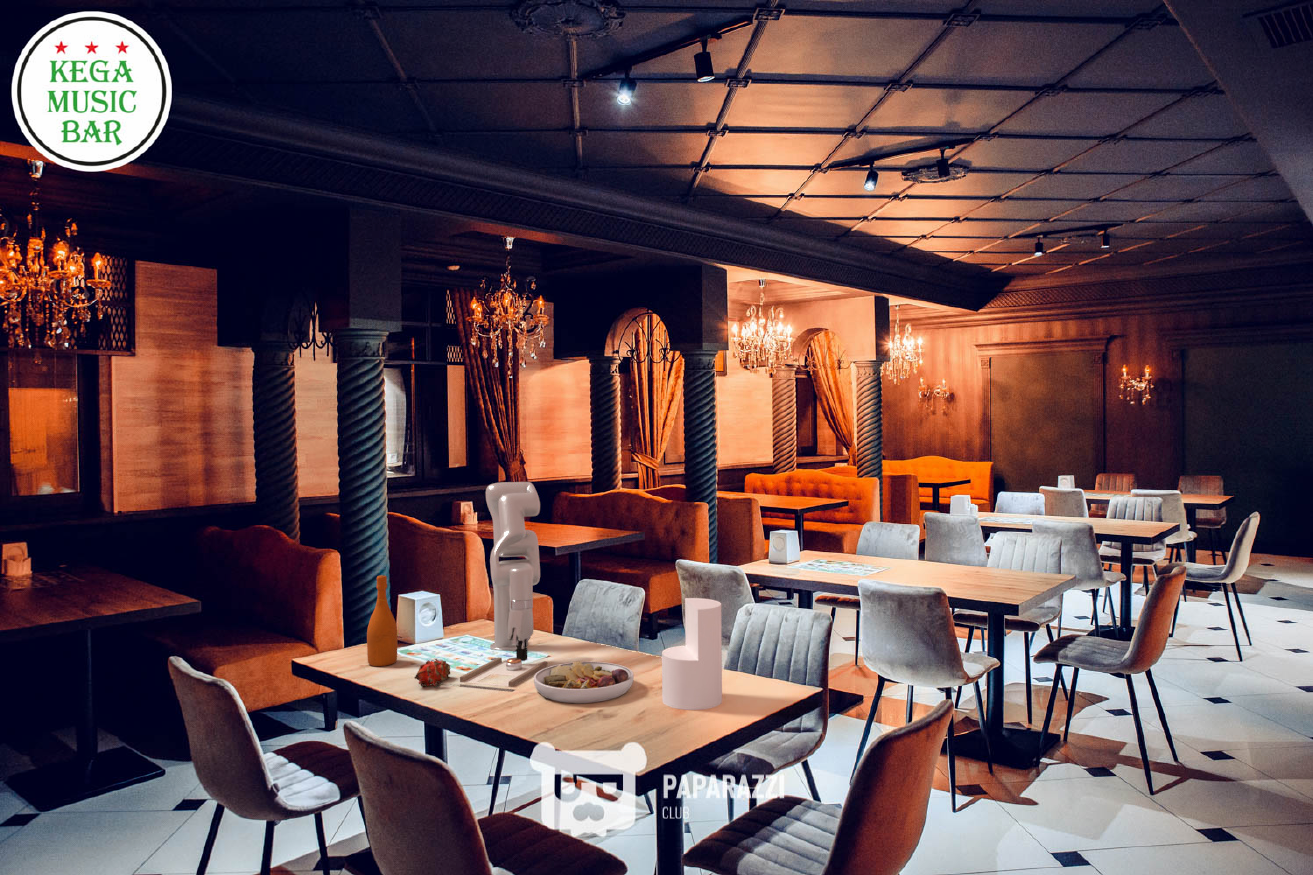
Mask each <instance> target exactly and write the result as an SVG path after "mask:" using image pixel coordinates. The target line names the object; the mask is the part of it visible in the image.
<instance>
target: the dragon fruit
mask: <svg viewBox="0 0 1313 875" xmlns="http://www.w3.org/2000/svg"><path fill="white" fill-rule="evenodd" d="M450 675H451V664H449V663H447V661H446V660H443V659H442V660H441V661H440V660H439V659H437V658H434V660H433V661H432V660H427V661H425V663H423V664H421V665H420V667H419V670H418V671H417V673H416V674H415V676H414V680H418V685H420V686H421V687H429V686H432V685H433V687H434V688H436V687H437V686H439V685H442V684H443V682H444V681H445V680H448V679H449V678H450ZM442 681H443V682H442Z"/></svg>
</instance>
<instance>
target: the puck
mask: <svg viewBox="0 0 1313 875" xmlns="http://www.w3.org/2000/svg"><path fill="white" fill-rule="evenodd" d="M505 663H506V670H508V671H517V670H521V669H522V664H523V661H521V659H520V658H516V657H510V658H507V660H506V662H505Z"/></svg>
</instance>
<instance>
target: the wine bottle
mask: <svg viewBox="0 0 1313 875" xmlns="http://www.w3.org/2000/svg"><path fill="white" fill-rule="evenodd" d="M387 581H388V577H387V576H386V575H384V574H381V575H378V576H377V577H376V585H375V586H376V589H377V598H376V603H375V607H374V609H373V612H372V614H371V616H370V619H369V621H368V622H369V623H368V626H367V631H366V652H367V653H366V654H367V663H368V665H370V666H372V667H373V666H374V667H386V666H391V665H392V664H395V663H396V662H397V660H398V626H397V623H396V620H395V618H394V615H393V613H392V611H391V608H390V606H389V603H388V598H387V588H388V582H387Z"/></svg>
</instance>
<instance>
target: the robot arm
mask: <svg viewBox="0 0 1313 875" xmlns="http://www.w3.org/2000/svg"><path fill="white" fill-rule="evenodd" d="M485 501H486V504H487V508H488V511H489V512H490V515H491V518H492V526H493V527H492V529H493V547H492V549H491V551H490V559H489V563H490V576H491V581H492V587H493V589H492V590H493V621H494V622H493V623H494V625H493V626H494V628H493V629H494V630H493V631H494V632H493V633H494V643H493V642H492V643H491V644H490V646H489V647H490V650H492V651H504V652H516V656H515V658H520V659H521V661H522V662H525V661H528V647H529V641H530V639H531V637H532V636H533V634H534V612H533V608H534V604H533V603H534V602H533V601H534V595H533V594H534V593H533V586H535V585H538V583H539V582H540V578H541V566H540V565H541V564H540V550H539V540H538V536H537V533H536V532H535V531H534V530H530V529H526V525H525V517H536V516H538V515H539V514H540V511H541V501H540V497H539V495H538V492H537V490H536V488H535V486H534V484H533V483H532V482H530V481H515V482H513V481H512V482H511V481H508V482H506V481H505V482H495V483H491V484H489V485H488V486H487V487H486V488H485ZM500 557H501V558H510V557H511V558H512V557H513V558H514V557H524V558H525V559H511V560H510V559H509V560H501V561H499V560H500Z"/></svg>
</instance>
